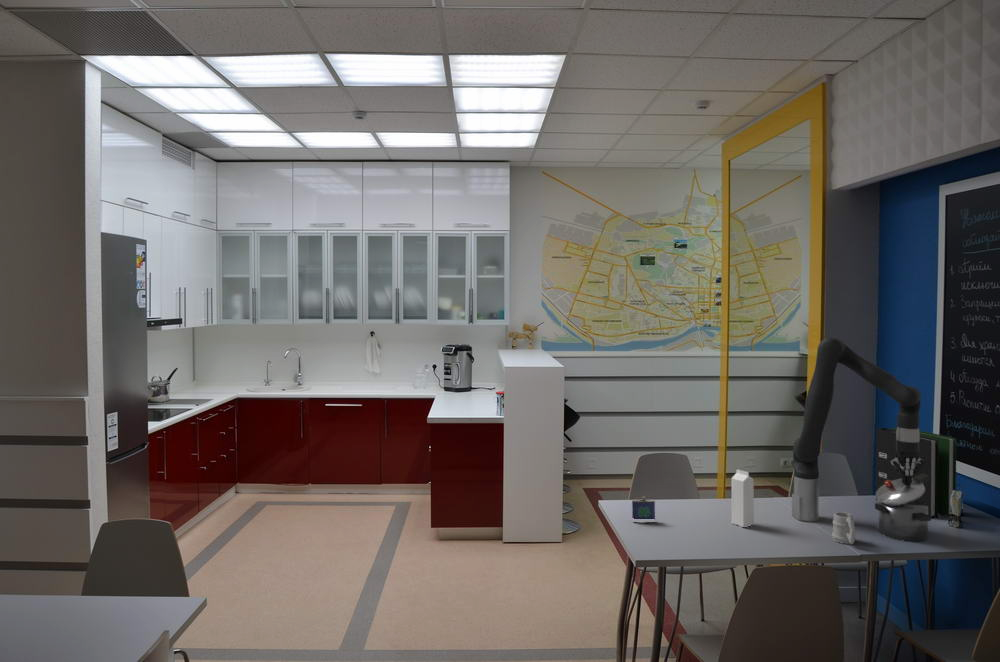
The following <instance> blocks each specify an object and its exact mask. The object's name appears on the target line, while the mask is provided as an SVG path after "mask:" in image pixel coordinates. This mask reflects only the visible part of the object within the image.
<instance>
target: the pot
mask: <svg viewBox="0 0 1000 662" xmlns="http://www.w3.org/2000/svg"><path fill="white" fill-rule="evenodd" d="M874 509H875V510H877V511H878V533H879V532H880V533H881V534H880V533H879V534H880V535H882V534H883V535H885V536H884V537H886V536H887V537H886V538H888V537H890V538H889V539H891V538H894V539H893V540H895V539H898V540H897V541H900V540H904V541H903V542H907V541H910V543H918V542H919V543H920V542H925V541H928V539H929V522H931V521H932V516H928V505H927V504H926V503H924V502H921V501H918V500H915V501H913V502H911V503H908V504H904V505H899V506H887V505H883V504H881V503H880V502H879V501H878V502H876V503H874ZM883 535H882V536H883ZM911 541H913V542H911Z"/></svg>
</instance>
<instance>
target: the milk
mask: <svg viewBox="0 0 1000 662" xmlns="http://www.w3.org/2000/svg"><path fill="white" fill-rule="evenodd" d="M749 474H750V473H749V472H748V471H745V470H741V469H739V468H738V469H736V472H735V474H734V475H733V476H732V477H731V524H732V523H735V524H738V525H740V526H743V527H745V526H749V525H754V520H755V519H754V518H755V517H754V516H755V515H754V514H755V511H754V506H755V505H754V503H755V500H754V498H755V497H754V496H755V495H754V494H755V493H754V492H755V491H754V486H755V485H754V478H752V476H750V475H749ZM754 526H755V525H754Z"/></svg>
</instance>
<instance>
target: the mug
mask: <svg viewBox="0 0 1000 662" xmlns="http://www.w3.org/2000/svg"><path fill="white" fill-rule="evenodd" d="M832 525H833V527H832V533H831V537H832V541H834V540H835V541H837V542H836V543H838V542H842V543H850V544H849V545H854V543H855V541H856V531H855V530H856V528H855V522H854V514H853V513H849V512H845V511H842V512H841V511H840V512H839V511H838V512H834V514H833V520H832ZM835 541H834V542H835ZM842 543H841V544H842Z"/></svg>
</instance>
